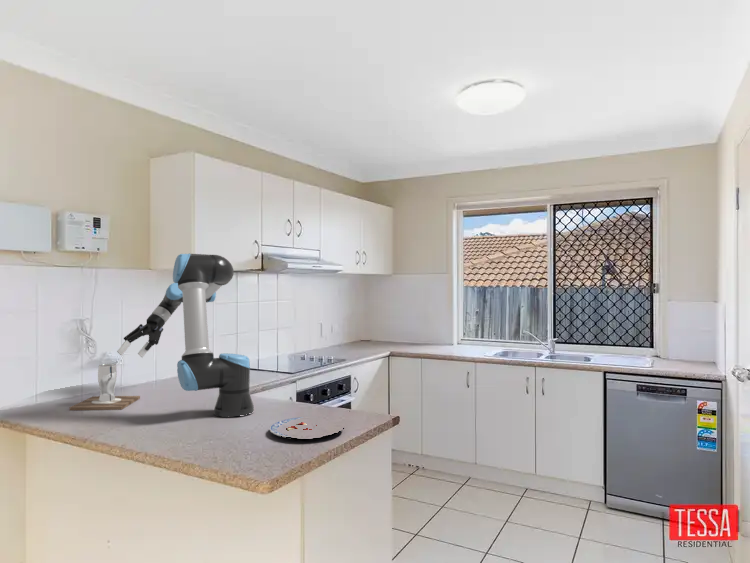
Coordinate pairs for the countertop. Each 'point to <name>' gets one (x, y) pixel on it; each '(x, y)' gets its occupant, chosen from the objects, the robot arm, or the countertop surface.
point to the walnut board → (105, 403)
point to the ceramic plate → (274, 428)
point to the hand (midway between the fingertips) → (129, 354)
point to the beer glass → (107, 382)
